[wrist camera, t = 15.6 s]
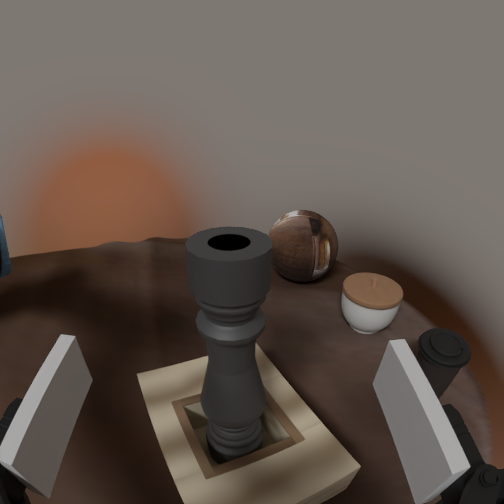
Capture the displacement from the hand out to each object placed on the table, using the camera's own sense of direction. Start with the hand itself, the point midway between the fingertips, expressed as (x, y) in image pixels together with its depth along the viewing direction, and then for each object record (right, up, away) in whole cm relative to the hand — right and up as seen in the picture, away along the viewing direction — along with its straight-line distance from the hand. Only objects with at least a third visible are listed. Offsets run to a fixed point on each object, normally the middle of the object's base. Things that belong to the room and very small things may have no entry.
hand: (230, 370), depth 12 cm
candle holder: (-1, -18, +19) cm, 26 cm away
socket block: (-1, -18, +20) cm, 27 cm away
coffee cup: (+26, -16, +26) cm, 40 cm away
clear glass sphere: (+11, -1, +58) cm, 59 cm away
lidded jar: (+21, -8, +42) cm, 48 cm away
